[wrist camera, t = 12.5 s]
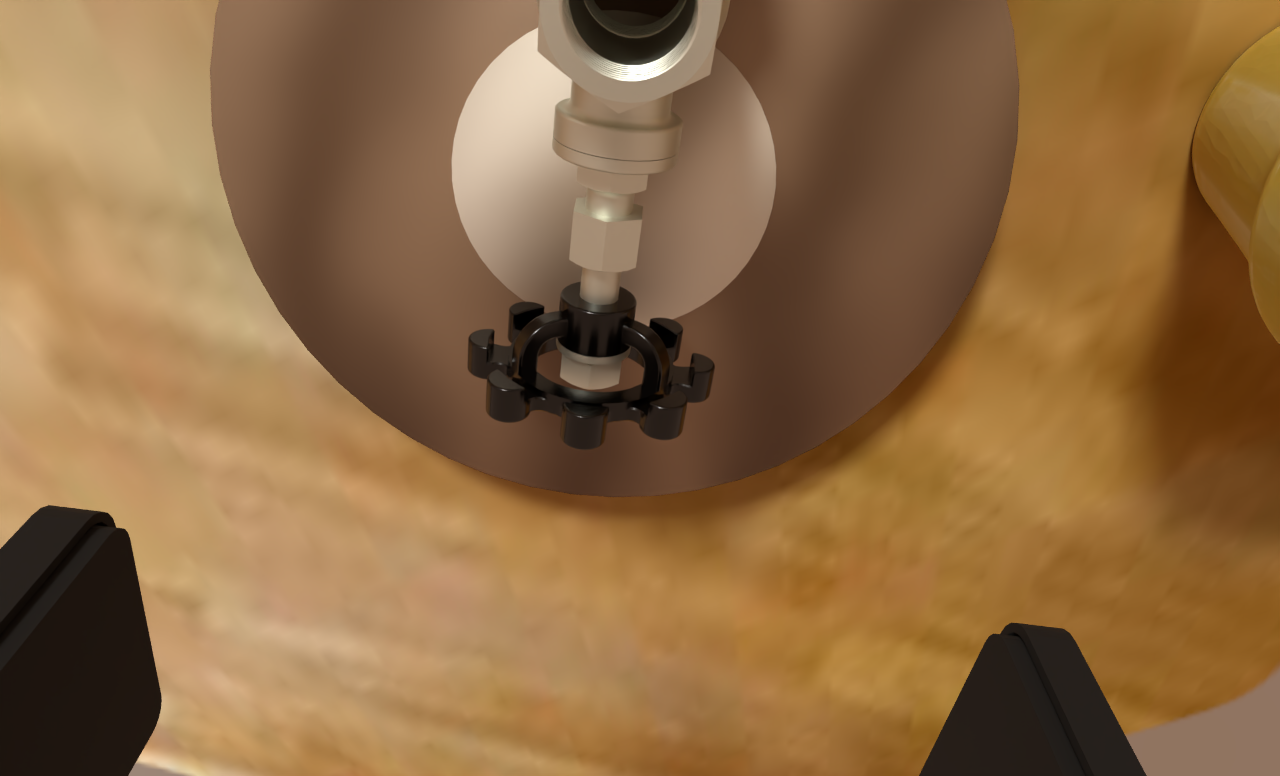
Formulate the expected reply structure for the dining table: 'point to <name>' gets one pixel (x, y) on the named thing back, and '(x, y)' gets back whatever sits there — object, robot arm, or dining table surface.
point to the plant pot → (1247, 166)
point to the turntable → (672, 203)
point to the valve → (607, 228)
